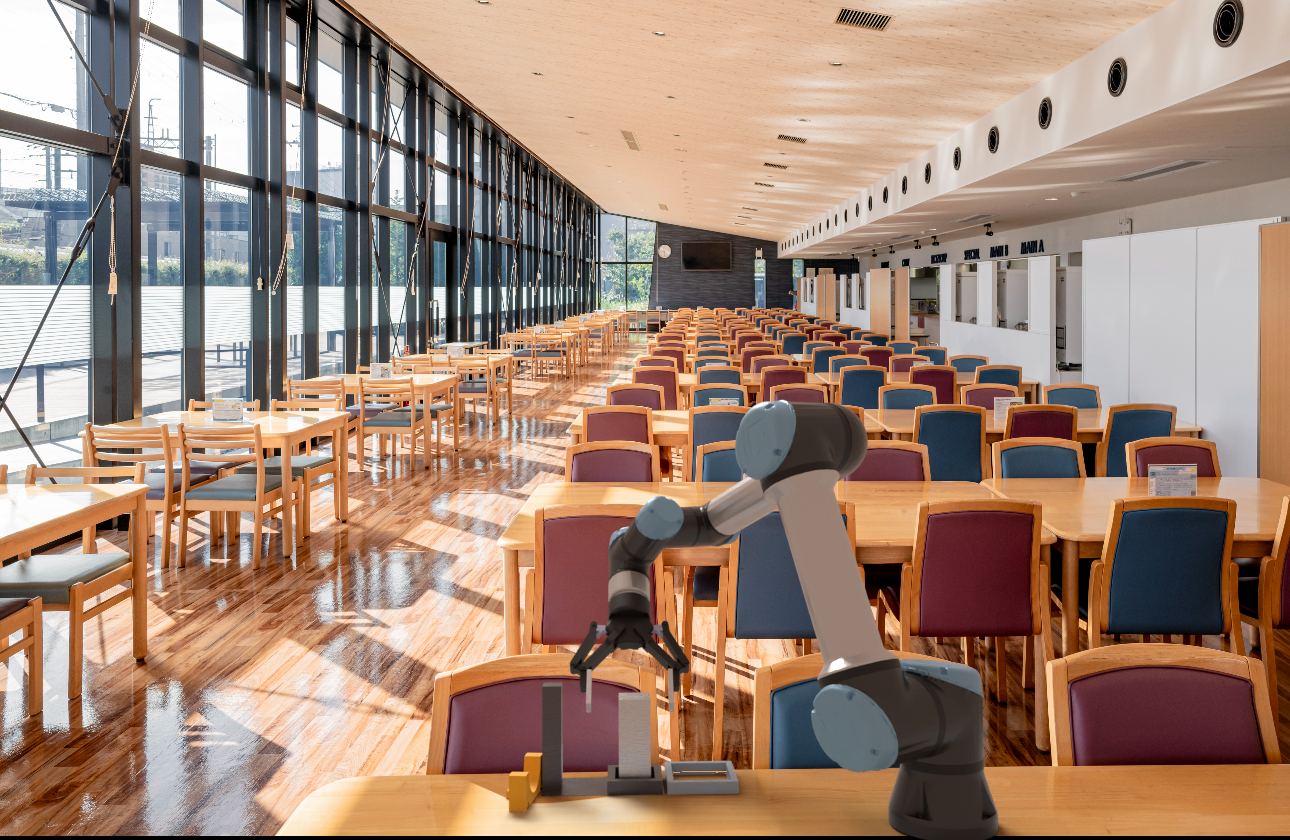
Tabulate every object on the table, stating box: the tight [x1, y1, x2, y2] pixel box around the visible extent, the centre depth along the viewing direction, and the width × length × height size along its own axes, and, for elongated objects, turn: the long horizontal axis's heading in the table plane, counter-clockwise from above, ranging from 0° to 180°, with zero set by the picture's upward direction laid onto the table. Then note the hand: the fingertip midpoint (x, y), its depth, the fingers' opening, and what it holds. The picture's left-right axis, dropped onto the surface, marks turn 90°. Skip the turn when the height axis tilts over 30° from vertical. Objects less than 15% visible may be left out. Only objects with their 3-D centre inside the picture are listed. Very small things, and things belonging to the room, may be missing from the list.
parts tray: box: [664, 760, 740, 796], centre depth 161 cm, size 11×11×3 cm
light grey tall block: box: [618, 691, 652, 779], centre depth 161 cm, size 5×5×14 cm
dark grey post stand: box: [540, 681, 665, 797], centre depth 160 cm, size 19×9×17 cm, turn 91°
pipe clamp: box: [506, 752, 542, 812], centre depth 155 cm, size 12×4×6 cm, turn 174°
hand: (630, 708), depth 166 cm, fingers open, 13 cm apart
